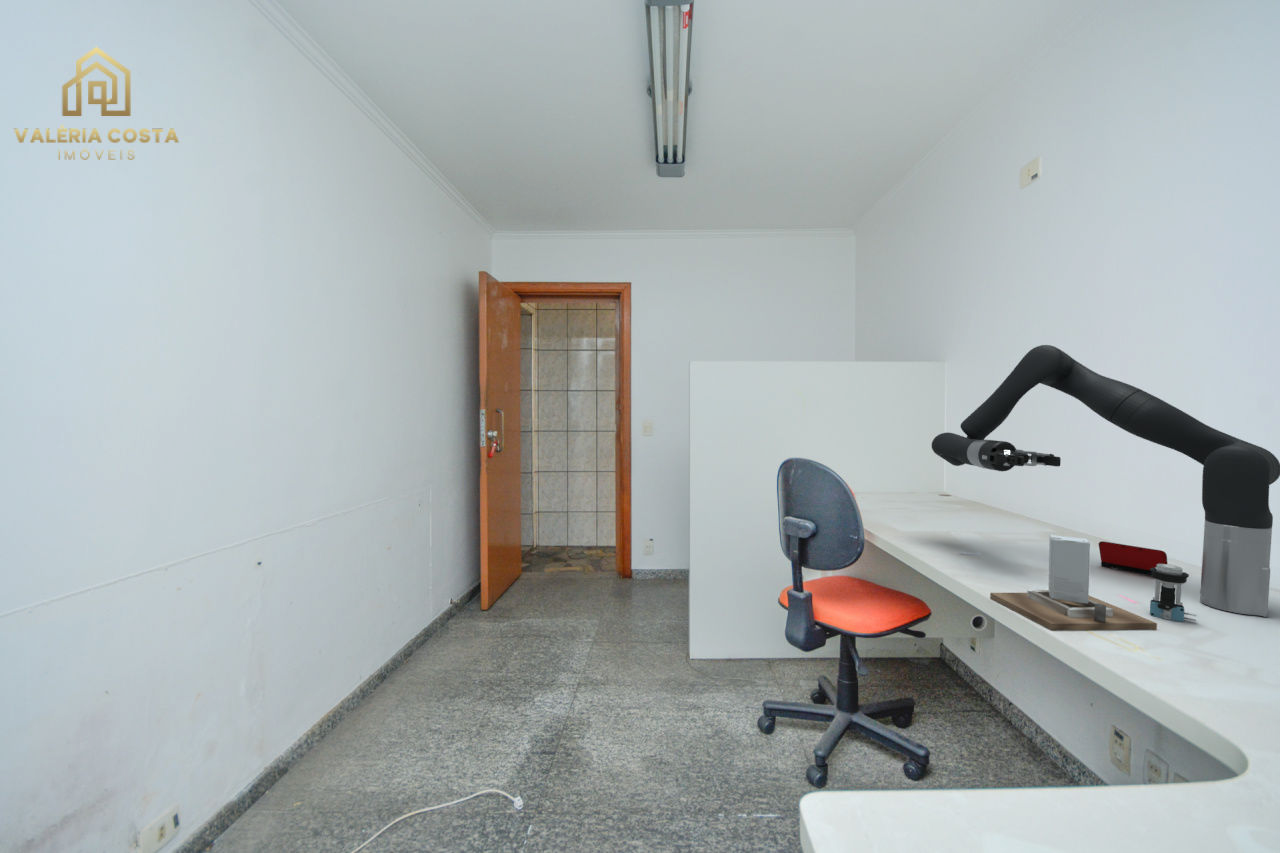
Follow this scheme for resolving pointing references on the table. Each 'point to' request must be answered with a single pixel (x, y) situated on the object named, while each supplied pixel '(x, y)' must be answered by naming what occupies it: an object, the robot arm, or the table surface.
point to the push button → (1168, 593)
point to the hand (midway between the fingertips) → (1041, 461)
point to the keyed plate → (1071, 612)
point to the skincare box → (1069, 568)
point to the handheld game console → (1130, 557)
